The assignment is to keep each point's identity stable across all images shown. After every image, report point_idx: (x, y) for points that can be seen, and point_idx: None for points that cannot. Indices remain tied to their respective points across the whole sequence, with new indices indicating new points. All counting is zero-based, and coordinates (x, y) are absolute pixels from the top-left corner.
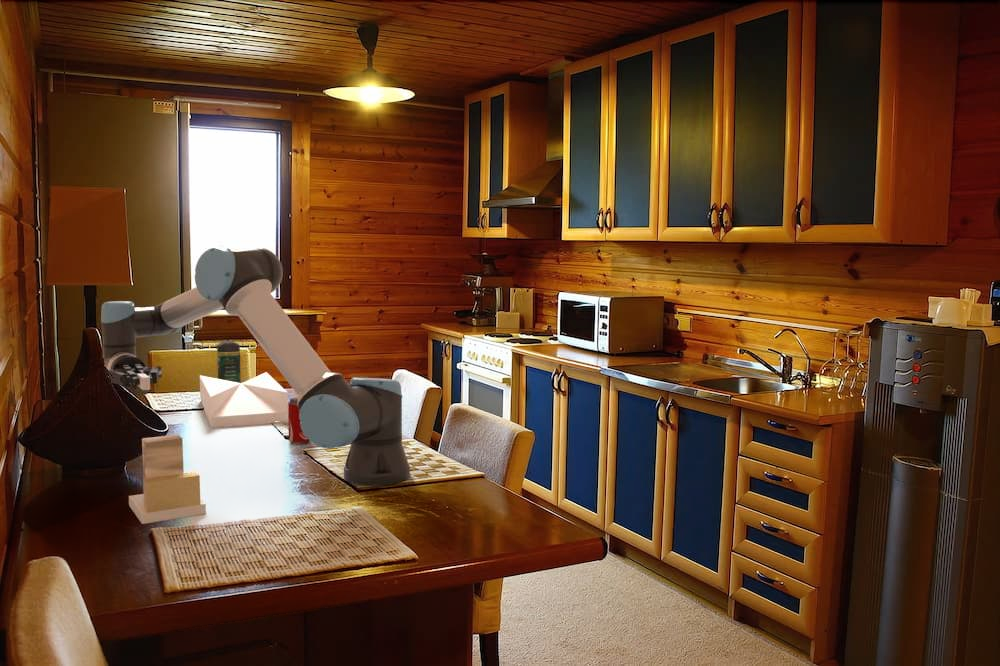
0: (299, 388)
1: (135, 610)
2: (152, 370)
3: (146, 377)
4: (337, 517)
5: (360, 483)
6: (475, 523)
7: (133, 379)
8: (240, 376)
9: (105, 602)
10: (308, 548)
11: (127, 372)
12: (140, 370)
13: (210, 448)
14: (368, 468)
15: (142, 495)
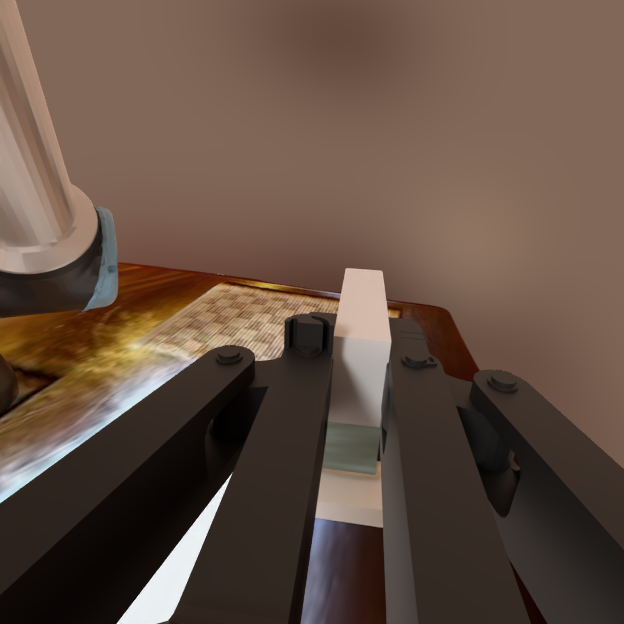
0: (75, 212)
1: (423, 305)
2: (145, 452)
3: (362, 269)
4: (183, 338)
5: (17, 389)
6: (122, 291)
7: (420, 334)
8: None
9: (443, 316)
10: (268, 312)
11: (489, 516)
12: (270, 546)
13: None
14: (5, 360)
15: (380, 499)
